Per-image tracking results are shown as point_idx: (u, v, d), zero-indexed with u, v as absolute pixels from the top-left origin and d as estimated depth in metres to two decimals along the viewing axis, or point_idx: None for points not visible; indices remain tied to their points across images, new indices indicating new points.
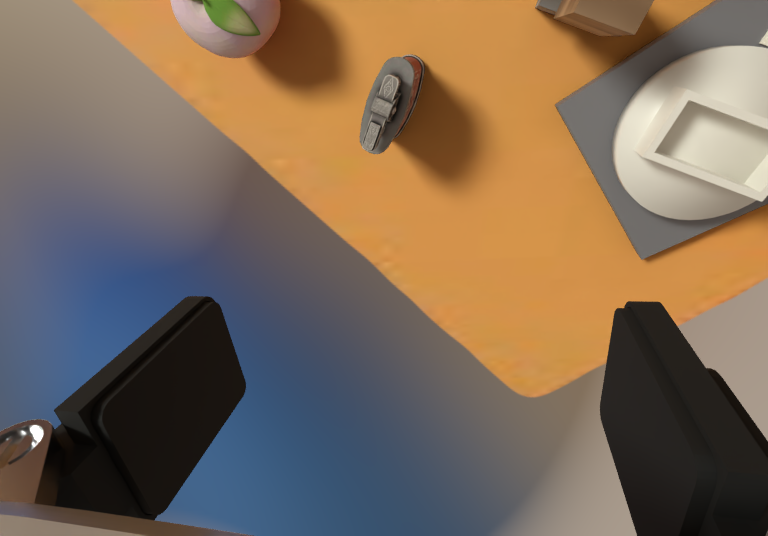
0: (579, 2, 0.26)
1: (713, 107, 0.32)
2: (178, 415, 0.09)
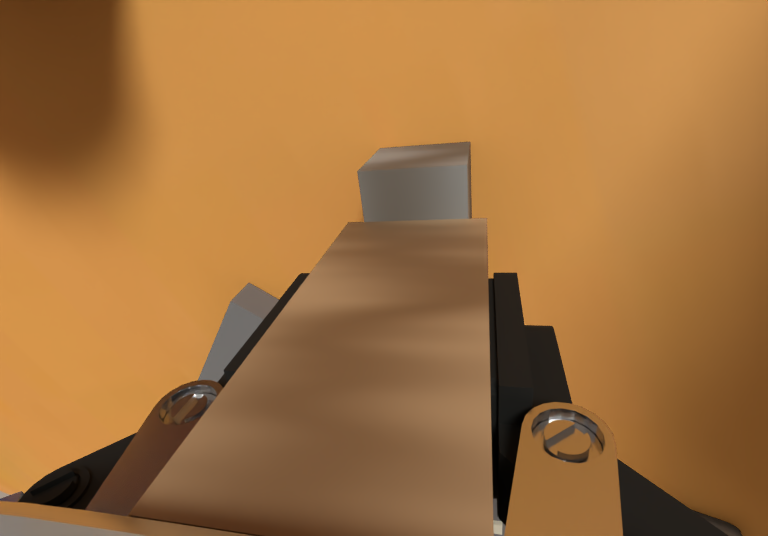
0: (173, 522, 0.05)
1: None
2: None
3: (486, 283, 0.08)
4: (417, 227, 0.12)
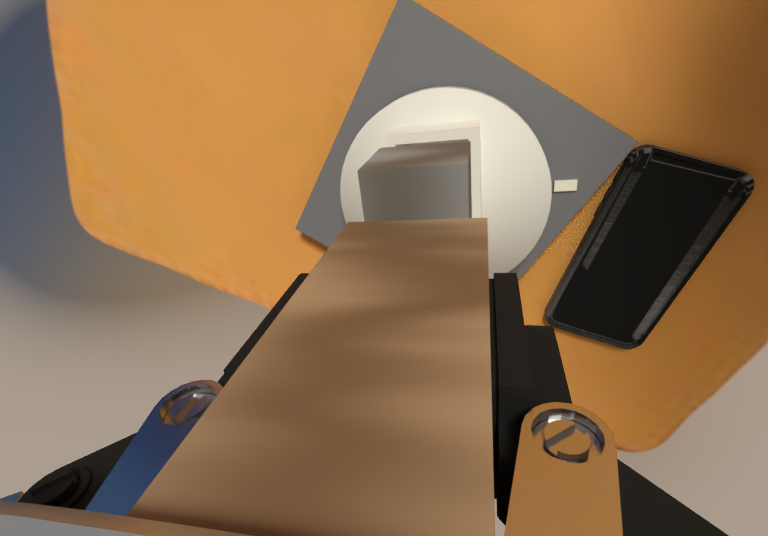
0: None
1: (471, 171, 0.24)
2: None
3: (487, 283, 0.08)
4: (417, 226, 0.12)
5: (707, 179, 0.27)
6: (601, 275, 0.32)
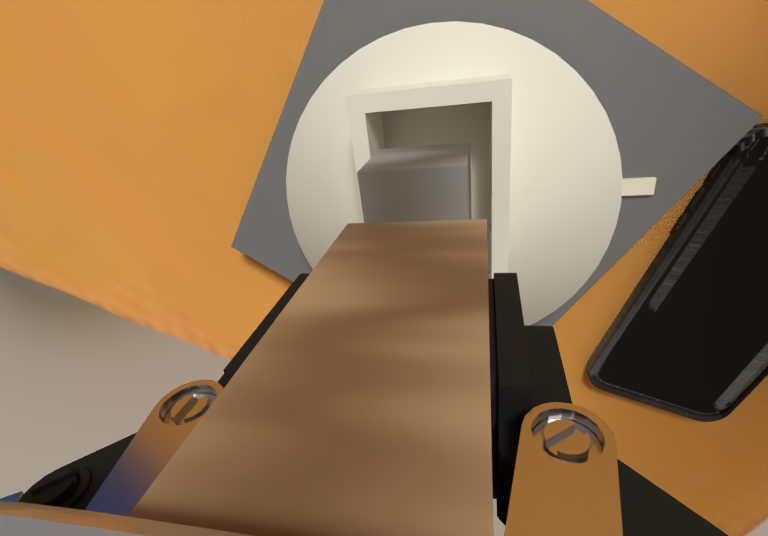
0: None
1: (494, 160, 0.14)
2: None
3: (486, 285, 0.08)
4: (416, 228, 0.12)
5: None
6: (677, 320, 0.21)
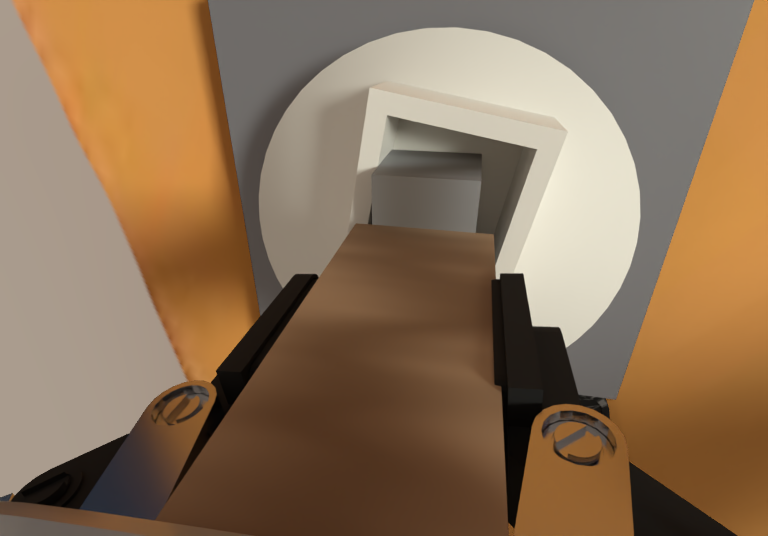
0: None
1: (517, 213, 0.12)
2: None
3: None
4: (425, 236, 0.12)
5: None
6: None
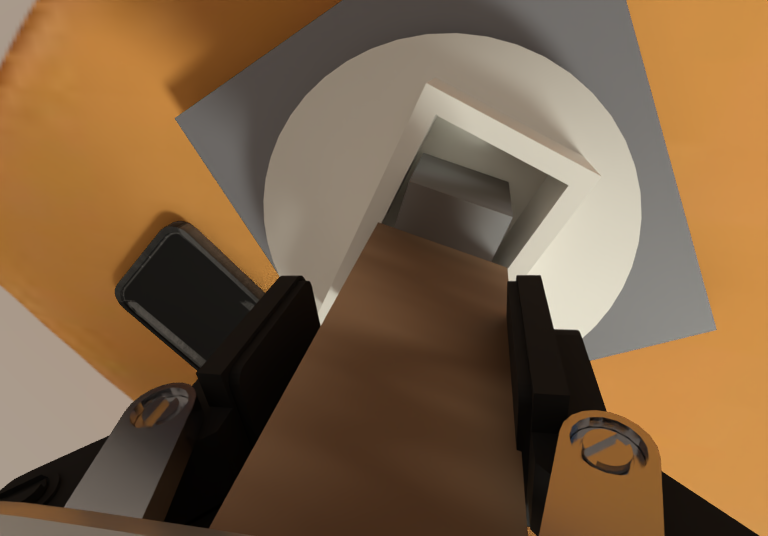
0: None
1: (532, 240, 0.13)
2: (286, 385, 0.10)
3: None
4: (445, 254, 0.12)
5: None
6: (228, 311, 0.24)
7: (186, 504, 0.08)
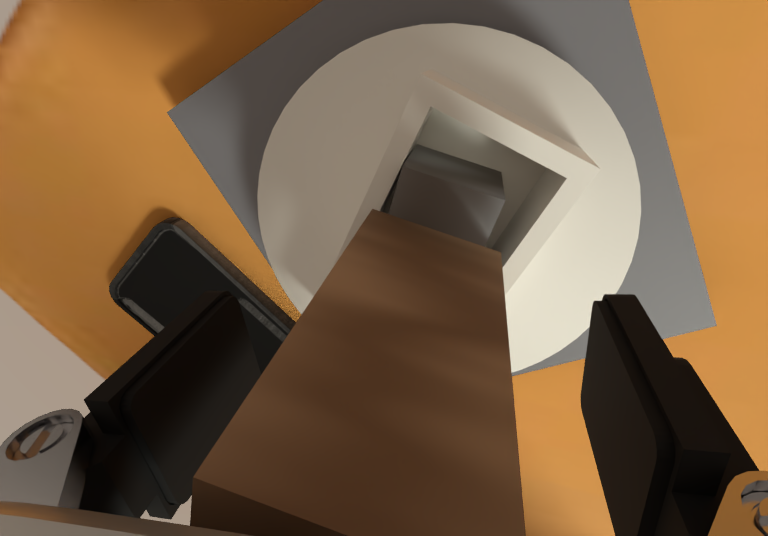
0: (239, 495, 0.05)
1: (529, 235, 0.12)
2: (200, 407, 0.09)
3: (505, 323, 0.09)
4: (439, 238, 0.12)
5: None
6: None
7: None
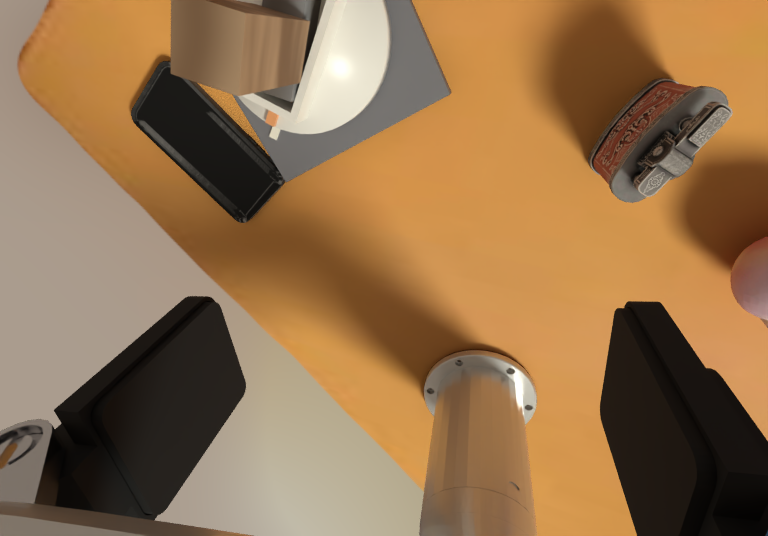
0: None
1: (323, 14, 0.29)
2: (178, 415, 0.09)
3: (287, 18, 0.26)
4: (281, 12, 0.28)
5: (250, 203, 0.43)
6: (199, 120, 0.40)
7: None
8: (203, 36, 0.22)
